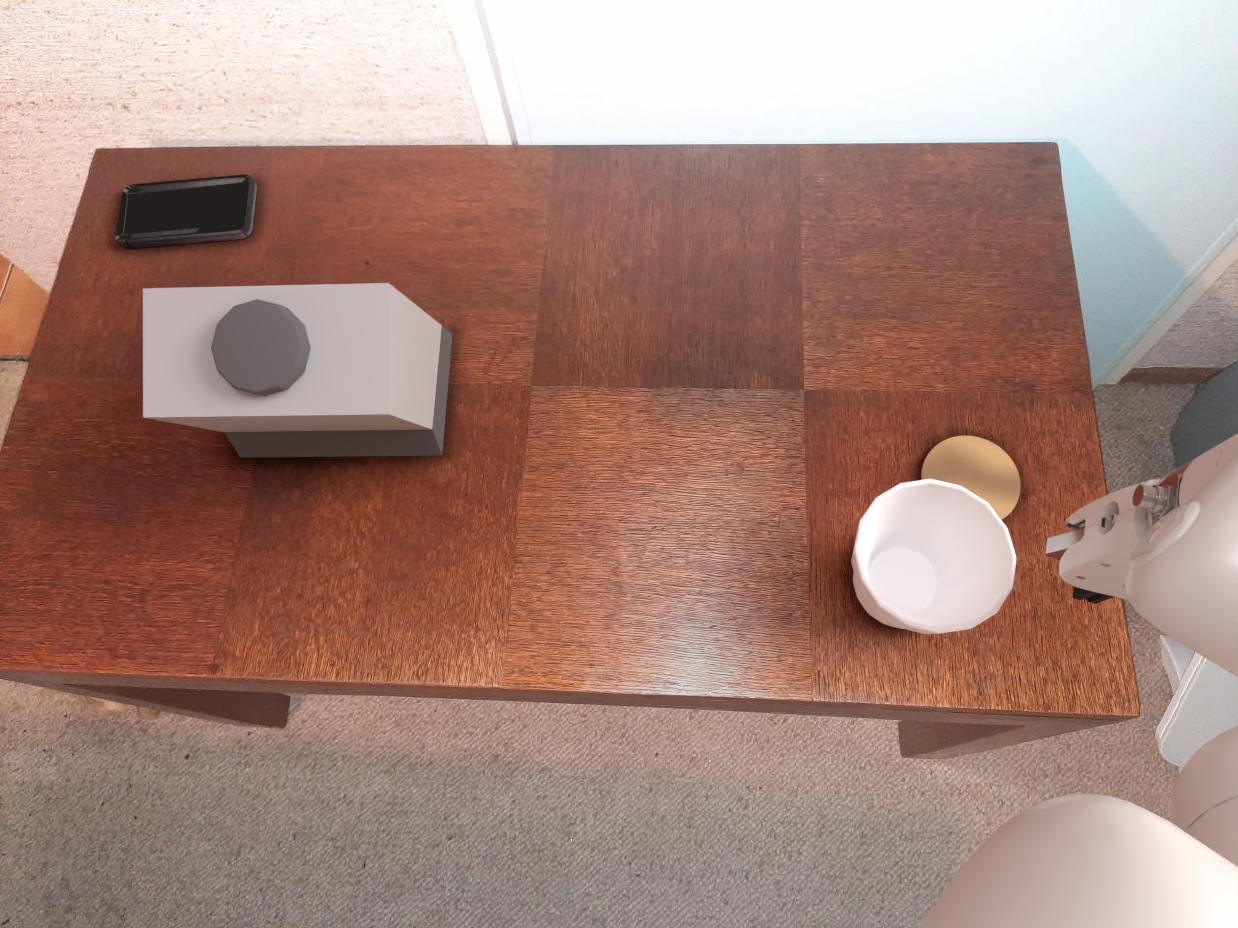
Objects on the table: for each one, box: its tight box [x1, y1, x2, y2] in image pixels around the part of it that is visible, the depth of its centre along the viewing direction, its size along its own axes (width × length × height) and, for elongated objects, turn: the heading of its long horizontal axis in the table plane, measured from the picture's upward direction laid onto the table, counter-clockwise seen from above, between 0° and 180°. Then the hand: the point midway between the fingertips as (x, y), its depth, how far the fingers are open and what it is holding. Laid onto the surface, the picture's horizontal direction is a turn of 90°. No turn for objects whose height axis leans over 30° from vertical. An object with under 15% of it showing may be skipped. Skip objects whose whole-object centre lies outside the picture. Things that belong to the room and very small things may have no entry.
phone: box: [114, 173, 258, 249], centre depth 95 cm, size 8×1×15 cm
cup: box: [850, 479, 1017, 635], centre depth 72 cm, size 12×12×11 cm
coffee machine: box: [142, 282, 454, 458], centre depth 77 cm, size 20×16×20 cm
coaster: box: [919, 435, 1021, 521], centre depth 80 cm, size 9×9×1 cm
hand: (1085, 581), depth 65 cm, fingers closed
